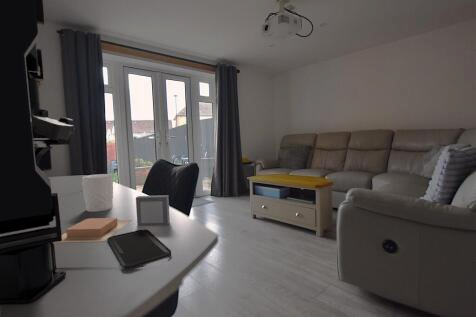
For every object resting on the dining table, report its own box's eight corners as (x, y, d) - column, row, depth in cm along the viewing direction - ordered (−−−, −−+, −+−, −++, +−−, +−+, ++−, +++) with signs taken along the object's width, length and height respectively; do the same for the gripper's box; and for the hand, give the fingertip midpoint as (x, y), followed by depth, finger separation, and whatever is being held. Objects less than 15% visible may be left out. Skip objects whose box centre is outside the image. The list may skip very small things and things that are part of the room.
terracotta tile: (117, 224, 58) (100, 236, 51) (87, 225, 58) (66, 237, 51) (117, 217, 57) (100, 228, 51) (87, 218, 58) (66, 229, 51)
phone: (146, 228, 54) (173, 252, 42) (146, 233, 54) (173, 259, 42) (105, 237, 49) (123, 267, 37) (106, 243, 49) (123, 274, 37)
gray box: (167, 226, 57) (166, 196, 56) (137, 227, 57) (135, 197, 56) (169, 224, 58) (168, 195, 58) (140, 225, 58) (138, 196, 58)
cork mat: (103, 243, 48) (103, 241, 48) (47, 244, 48) (47, 242, 48) (132, 221, 61) (132, 219, 61) (87, 222, 61) (87, 220, 61)
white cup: (120, 206, 76) (118, 173, 75) (103, 213, 68) (101, 177, 67) (96, 206, 77) (94, 174, 76) (77, 213, 69) (74, 178, 68)
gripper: (21, 94, 40) (29, 189, 41) (90, 109, 59) (94, 174, 60) (-47, 96, 40) (-37, 191, 41) (43, 110, 59) (48, 175, 60)
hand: (29, 181), depth 51 cm, fingers closed
